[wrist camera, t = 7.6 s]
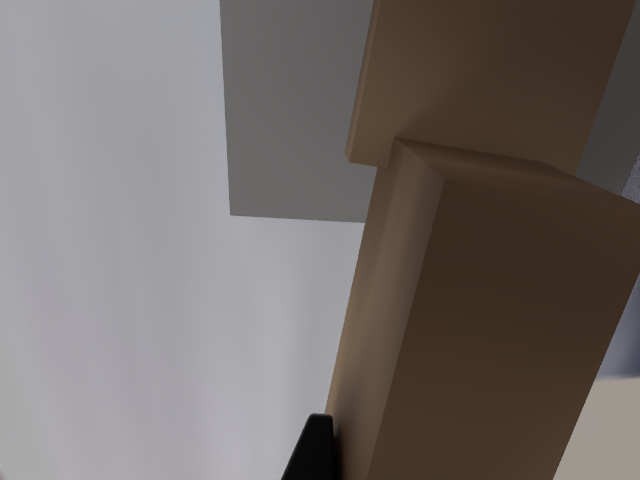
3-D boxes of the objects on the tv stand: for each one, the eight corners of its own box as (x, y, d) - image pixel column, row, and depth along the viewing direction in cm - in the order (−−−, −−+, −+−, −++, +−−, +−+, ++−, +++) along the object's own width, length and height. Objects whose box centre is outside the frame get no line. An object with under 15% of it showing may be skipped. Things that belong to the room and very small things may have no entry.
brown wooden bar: (382, 677, 13) (411, 886, 10) (246, 668, 13) (228, 883, 10) (655, -149, 7) (967, -326, 4) (413, -208, 7) (526, -458, 4)
